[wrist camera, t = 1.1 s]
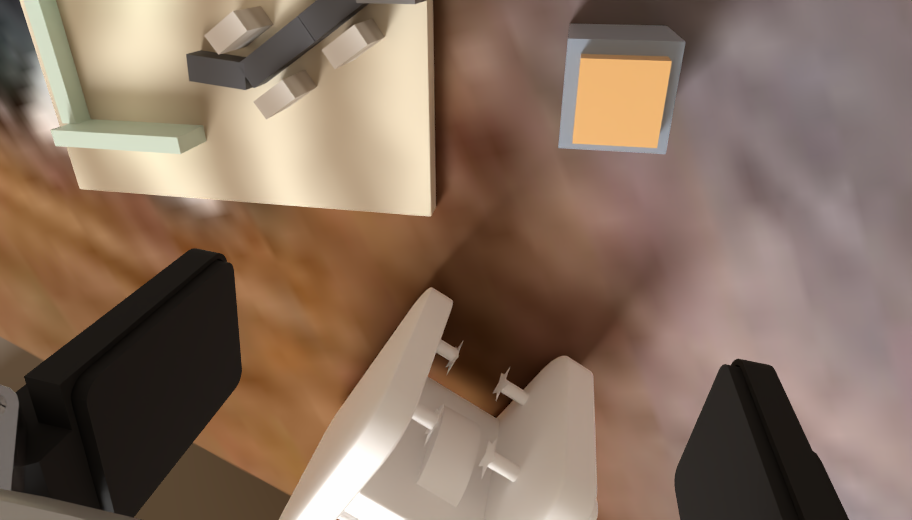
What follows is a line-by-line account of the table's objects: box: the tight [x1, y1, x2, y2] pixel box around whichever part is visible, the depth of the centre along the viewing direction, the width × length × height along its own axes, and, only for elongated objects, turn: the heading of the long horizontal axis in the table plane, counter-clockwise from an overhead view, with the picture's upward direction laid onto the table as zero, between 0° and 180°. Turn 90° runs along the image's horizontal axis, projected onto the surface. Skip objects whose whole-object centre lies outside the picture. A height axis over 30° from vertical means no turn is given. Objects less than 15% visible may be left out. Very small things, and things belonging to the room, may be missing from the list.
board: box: [20, 0, 436, 216], centre depth 27 cm, size 20×14×4 cm
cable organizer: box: [279, 287, 598, 520], centre depth 31 cm, size 15×11×12 cm
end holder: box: [23, 0, 206, 154], centre depth 27 cm, size 7×8×2 cm
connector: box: [558, 23, 685, 154], centre depth 23 cm, size 4×4×6 cm
